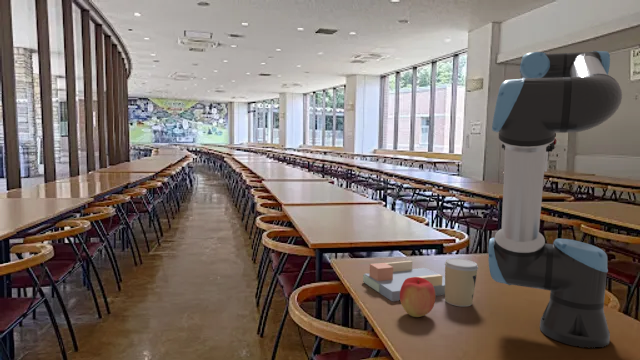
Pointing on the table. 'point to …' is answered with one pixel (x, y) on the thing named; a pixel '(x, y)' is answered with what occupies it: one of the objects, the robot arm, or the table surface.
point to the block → (381, 271)
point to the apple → (417, 296)
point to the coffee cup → (460, 281)
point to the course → (400, 275)
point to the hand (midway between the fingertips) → (526, 171)
